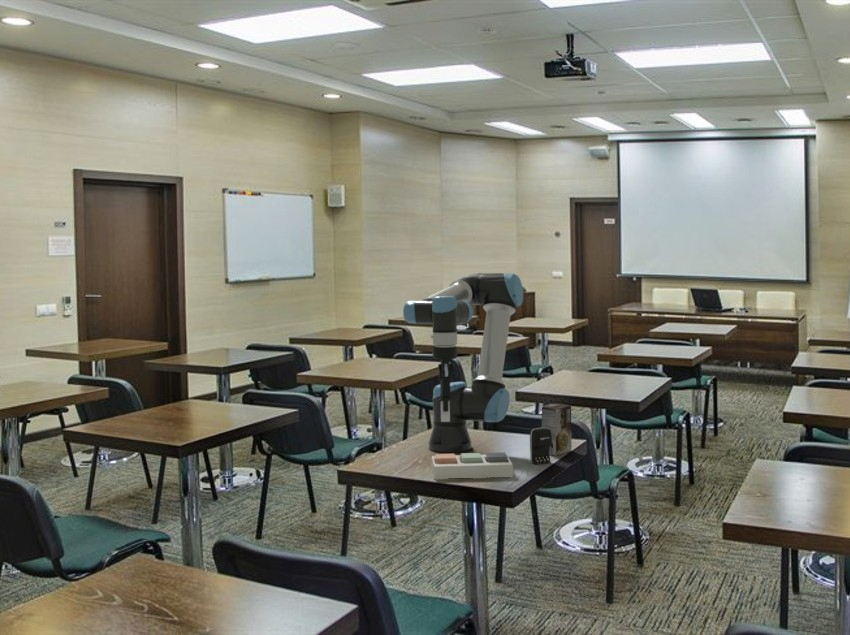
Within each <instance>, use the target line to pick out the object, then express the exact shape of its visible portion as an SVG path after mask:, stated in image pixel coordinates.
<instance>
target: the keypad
mask: <svg viewBox="0 0 850 635" xmlns="http://www.w3.org/2000/svg"><path fill="white" fill-rule="evenodd" d="M480 455H481V457H482V463H461V454H459V455H458V454H457V455H456V454H455V456H456V463H445V464H436V455H432V456H431V470H432V475H433V478H434V479H435V480H449V479H448V478H473V479H490V478H489V477H511V478H514V471H513V470H514V468H513V467H514V466H513V465H514V464H513V462H512V461H511V460H510V458H509V456H508V454H507V453H506V455H507V457H508V462H486V454H480ZM487 477H488V478H487Z"/></svg>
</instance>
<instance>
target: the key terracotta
mask: <svg viewBox="0 0 850 635" xmlns="http://www.w3.org/2000/svg"><path fill="white" fill-rule="evenodd" d="M455 455H456V453H435V456H436V464H445V463H456V456H455Z"/></svg>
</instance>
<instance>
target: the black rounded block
mask: <svg viewBox="0 0 850 635" xmlns="http://www.w3.org/2000/svg"><path fill="white" fill-rule="evenodd" d="M550 444H552V433H551V430H550V429H547V428H545V427H543V428H542V427H536V428H533V429H532V430H530V432H529V449H530V450H529V452H530V453H529V454H530V459H529V460H530V461H529V462H530V463H531V464H533V465H542V464H548V463H550V462H551V457H550V454H549V446H550Z"/></svg>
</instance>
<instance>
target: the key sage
mask: <svg viewBox="0 0 850 635" xmlns="http://www.w3.org/2000/svg"><path fill="white" fill-rule="evenodd" d="M460 455H461V463H482V457H481V455H482V454H481V453H480V452H467V453H465V452H463V453H460Z"/></svg>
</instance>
